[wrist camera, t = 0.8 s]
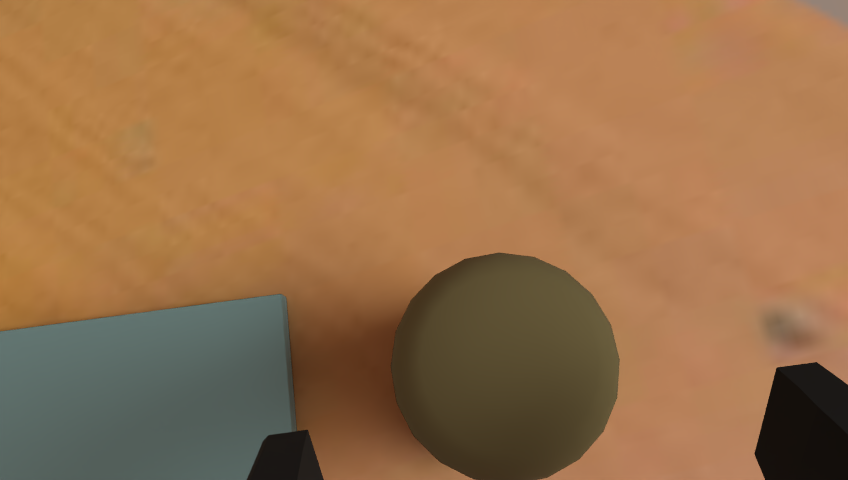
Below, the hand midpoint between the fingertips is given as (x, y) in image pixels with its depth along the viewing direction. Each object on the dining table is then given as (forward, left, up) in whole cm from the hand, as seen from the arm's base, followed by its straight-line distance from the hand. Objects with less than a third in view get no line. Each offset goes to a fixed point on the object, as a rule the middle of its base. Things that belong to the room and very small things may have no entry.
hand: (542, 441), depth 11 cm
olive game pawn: (+2, 0, -14) cm, 14 cm away
